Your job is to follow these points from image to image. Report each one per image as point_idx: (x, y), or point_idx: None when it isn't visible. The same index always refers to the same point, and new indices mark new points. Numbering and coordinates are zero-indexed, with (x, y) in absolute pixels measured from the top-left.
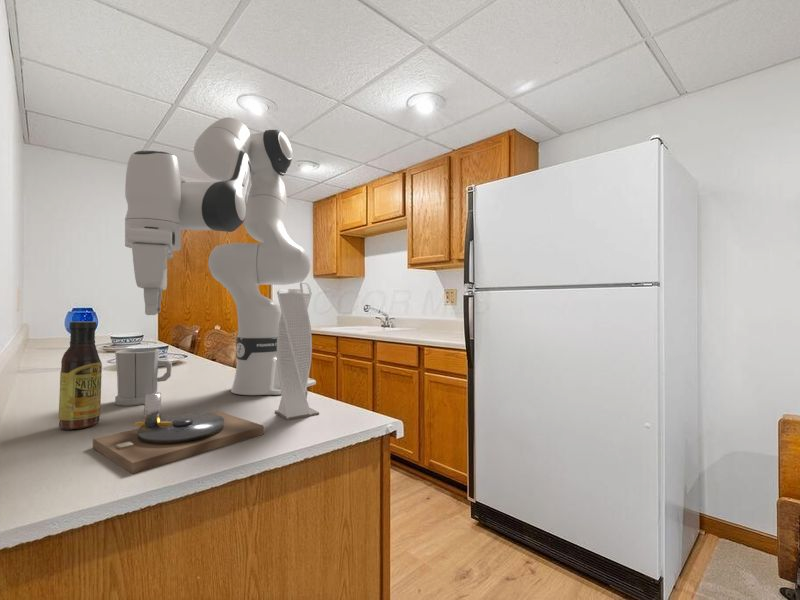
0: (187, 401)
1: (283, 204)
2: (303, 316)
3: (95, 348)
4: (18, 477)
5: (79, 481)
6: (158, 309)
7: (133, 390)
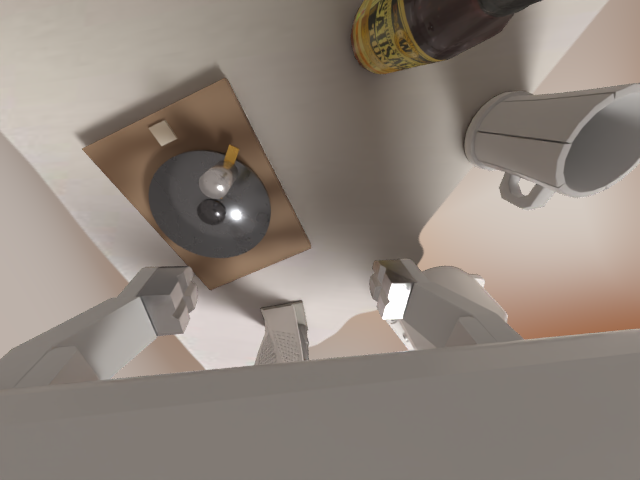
0: (433, 209)
1: None
2: None
3: (470, 26)
4: None
5: (70, 78)
6: (378, 296)
7: (490, 129)
